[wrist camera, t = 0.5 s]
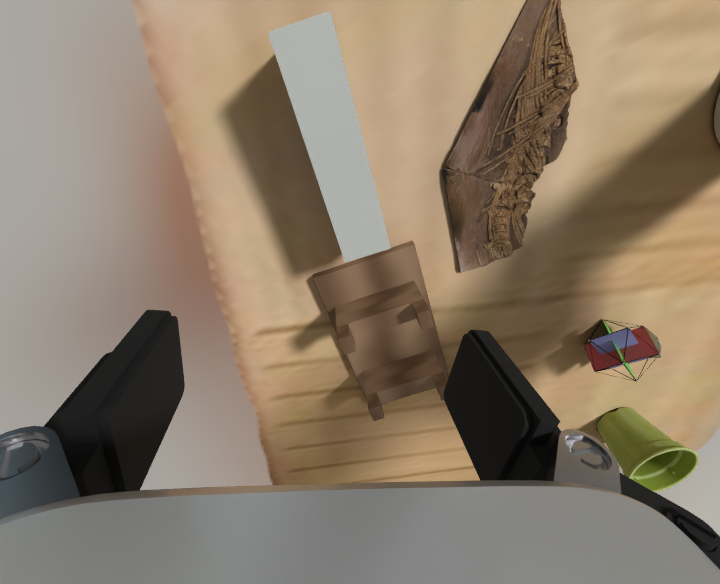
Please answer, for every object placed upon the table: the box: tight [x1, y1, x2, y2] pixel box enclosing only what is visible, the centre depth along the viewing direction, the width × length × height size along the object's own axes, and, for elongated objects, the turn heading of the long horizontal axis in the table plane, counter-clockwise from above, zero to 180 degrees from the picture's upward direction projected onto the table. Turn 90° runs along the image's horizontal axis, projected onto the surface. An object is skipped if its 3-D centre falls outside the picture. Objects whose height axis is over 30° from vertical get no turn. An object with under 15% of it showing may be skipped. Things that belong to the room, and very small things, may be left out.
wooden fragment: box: [442, 0, 579, 272], centre depth 32 cm, size 26×11×1 cm, turn 171°
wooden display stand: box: [313, 241, 449, 421], centre depth 37 cm, size 11×20×7 cm, turn 18°
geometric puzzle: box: [584, 319, 661, 382], centre depth 41 cm, size 7×7×8 cm
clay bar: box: [268, 11, 391, 262], centre depth 27 cm, size 4×16×7 cm, turn 16°
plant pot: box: [597, 408, 699, 492], centre depth 49 cm, size 9×9×9 cm
